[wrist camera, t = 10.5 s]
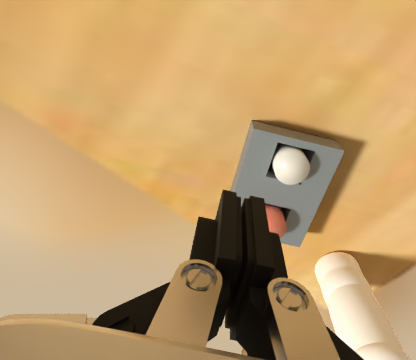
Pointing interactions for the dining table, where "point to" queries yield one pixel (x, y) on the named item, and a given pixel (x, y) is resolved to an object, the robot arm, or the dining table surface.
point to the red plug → (275, 219)
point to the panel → (279, 192)
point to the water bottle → (356, 309)
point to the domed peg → (290, 164)
